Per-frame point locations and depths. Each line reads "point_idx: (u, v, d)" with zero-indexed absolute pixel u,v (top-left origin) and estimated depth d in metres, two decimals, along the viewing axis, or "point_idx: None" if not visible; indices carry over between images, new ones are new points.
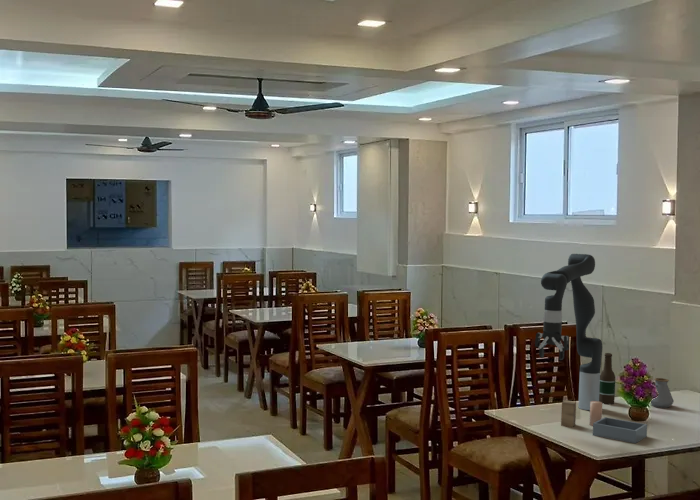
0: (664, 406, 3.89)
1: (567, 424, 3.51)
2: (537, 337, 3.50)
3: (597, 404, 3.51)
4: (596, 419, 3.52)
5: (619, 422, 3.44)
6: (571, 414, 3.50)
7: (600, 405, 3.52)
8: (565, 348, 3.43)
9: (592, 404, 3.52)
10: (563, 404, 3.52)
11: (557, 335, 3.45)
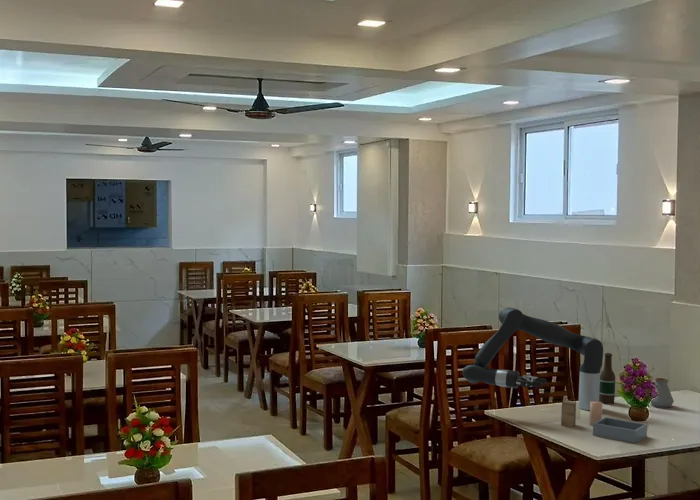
0: (664, 406, 3.89)
1: (567, 424, 3.51)
2: None
3: (597, 404, 3.51)
4: (596, 419, 3.52)
5: (619, 422, 3.44)
6: (571, 414, 3.50)
7: (600, 405, 3.52)
8: None
9: (592, 404, 3.52)
10: (563, 404, 3.52)
11: None
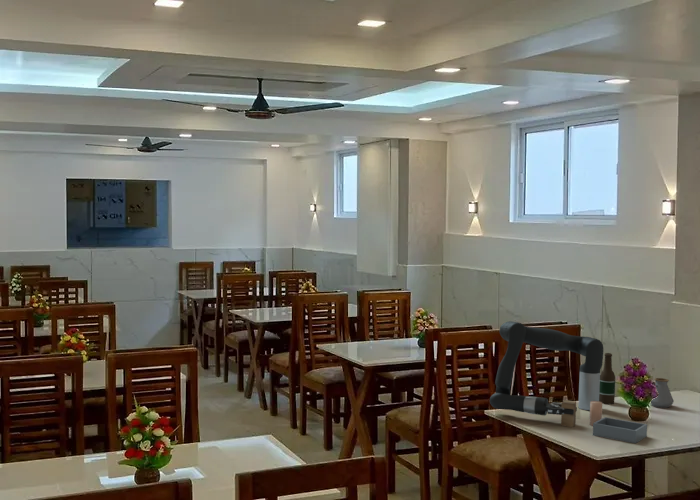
0: (664, 406, 3.89)
1: (567, 424, 3.51)
2: None
3: (597, 404, 3.51)
4: (596, 419, 3.52)
5: (619, 422, 3.44)
6: None
7: (600, 405, 3.52)
8: None
9: (592, 404, 3.52)
10: (563, 404, 3.51)
11: None
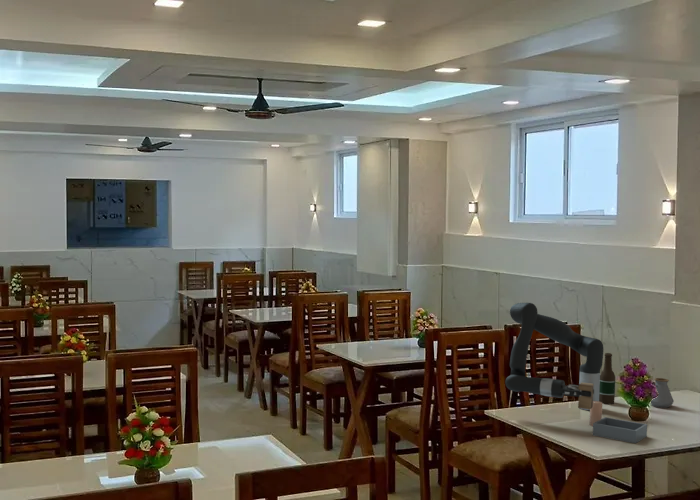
0: (664, 406, 3.89)
1: (584, 406, 3.45)
2: None
3: (597, 404, 3.51)
4: (596, 419, 3.52)
5: (619, 422, 3.44)
6: None
7: (600, 405, 3.52)
8: None
9: None
10: (580, 386, 3.46)
11: (564, 393, 3.49)
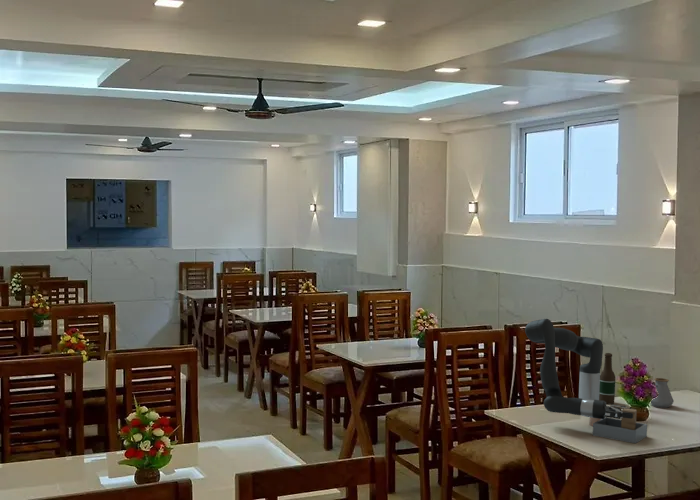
0: (664, 406, 3.89)
1: None
2: None
3: None
4: (596, 419, 3.52)
5: (619, 422, 3.44)
6: (632, 423, 3.32)
7: None
8: None
9: None
10: None
11: None
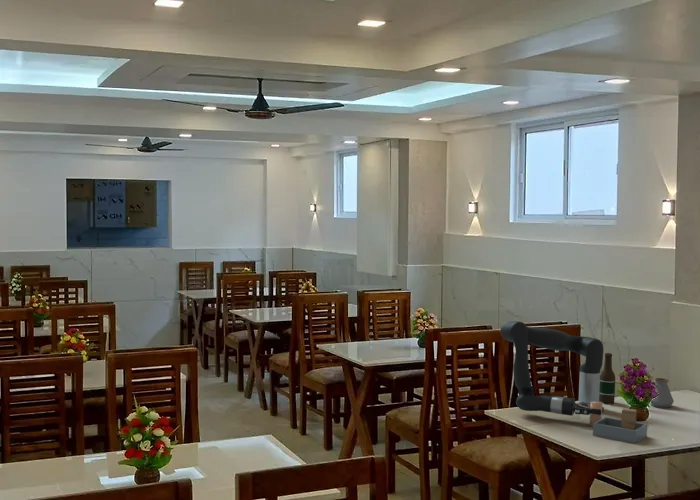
0: (664, 406, 3.89)
1: None
2: None
3: (597, 404, 3.51)
4: (596, 419, 3.52)
5: (619, 422, 3.44)
6: (632, 423, 3.32)
7: (600, 405, 3.52)
8: None
9: (592, 404, 3.52)
10: (623, 412, 3.34)
11: None
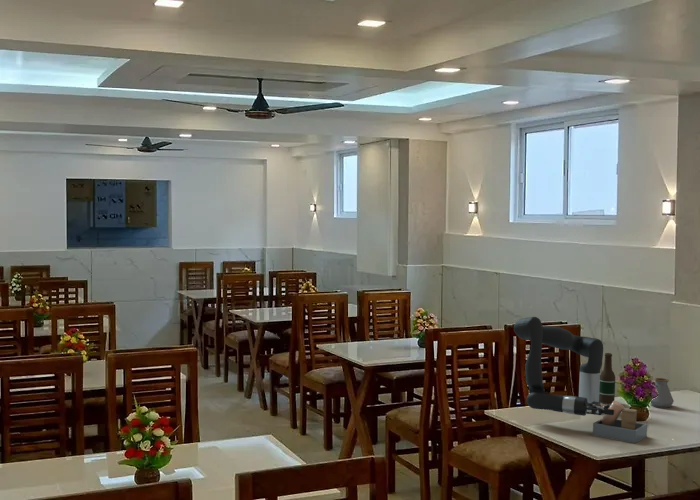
0: (664, 406, 3.89)
1: None
2: None
3: (618, 408, 3.36)
4: (609, 420, 3.38)
5: (619, 422, 3.44)
6: (632, 423, 3.32)
7: (620, 410, 3.36)
8: None
9: (613, 405, 3.37)
10: (623, 412, 3.34)
11: None
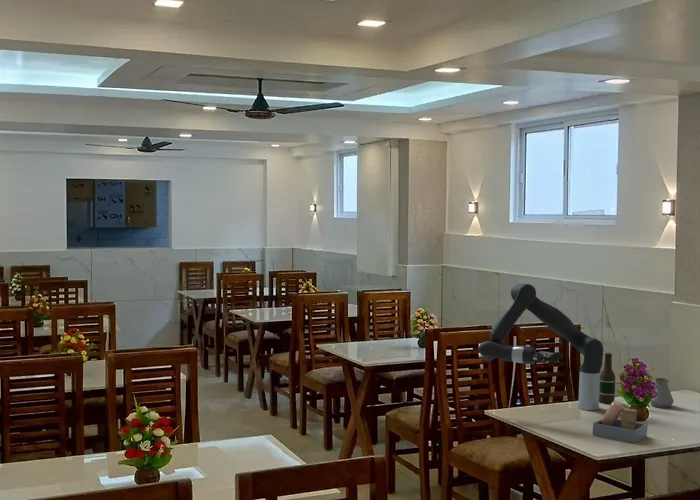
0: (664, 406, 3.89)
1: None
2: None
3: (618, 408, 3.36)
4: (609, 420, 3.38)
5: (619, 422, 3.44)
6: (632, 423, 3.32)
7: (620, 410, 3.36)
8: (544, 362, 3.53)
9: (613, 405, 3.37)
10: (623, 412, 3.34)
11: None
